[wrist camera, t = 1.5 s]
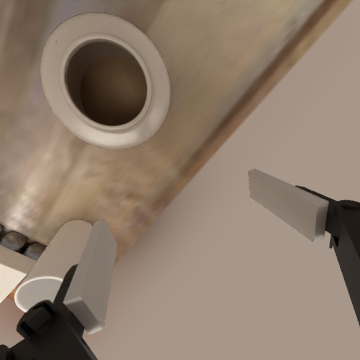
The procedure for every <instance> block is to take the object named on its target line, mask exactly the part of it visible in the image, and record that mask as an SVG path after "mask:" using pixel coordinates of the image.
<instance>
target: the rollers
mask: <svg viewBox="0 0 360 360" xmlns="http://www.w3.org/2000/svg"><path fill="white" fill-rule="evenodd" d="M1 231H2V226H1V225H0V232H1ZM25 243H26V238H25V236H24V235H22V234H20V233H17V232H11V233H7V234H6V235H5V236H4V237H3V238H2V239H1V240H0V245H1V246H4V247H6V248H8V249H10V250H13V251H15V252H18V251H19V250H20V249H21V248H22V247H23V246H24V244H25ZM46 248H47V247H46V246H45V245H43V244H40V243H34V244H32V245H30V246H29V247H28V248H27V249H26V251H25V252H24V253H23V254H22V255H24V256H26V257H29V258H31V259H33V260H35V261H36V262H37V260H38V259H39V258H40V256H41V255H42V253H43V252H44V250H45V249H46ZM34 265H35V264H34ZM34 265H33V266H34ZM32 268H33V267H32ZM32 268H31V269H32ZM29 272H30V271H29ZM27 275H28V274H27ZM27 275H26V276H27ZM26 276H25V277H24V278H23V279H22V280H21V282H22V281H23V280H24V279H25V278H26ZM21 282H20V283H21ZM20 283H19V284H20ZM19 284H18V285H19ZM18 285H17V286H18Z"/></svg>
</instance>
